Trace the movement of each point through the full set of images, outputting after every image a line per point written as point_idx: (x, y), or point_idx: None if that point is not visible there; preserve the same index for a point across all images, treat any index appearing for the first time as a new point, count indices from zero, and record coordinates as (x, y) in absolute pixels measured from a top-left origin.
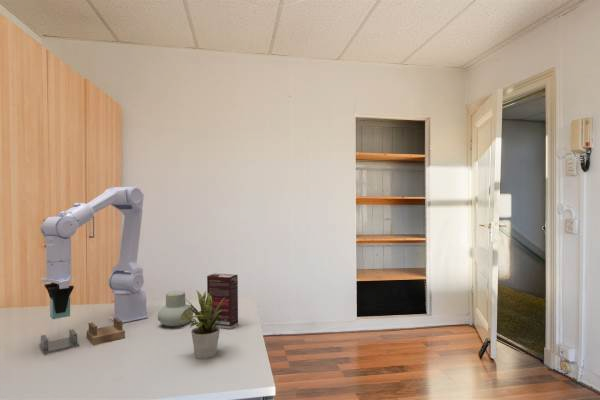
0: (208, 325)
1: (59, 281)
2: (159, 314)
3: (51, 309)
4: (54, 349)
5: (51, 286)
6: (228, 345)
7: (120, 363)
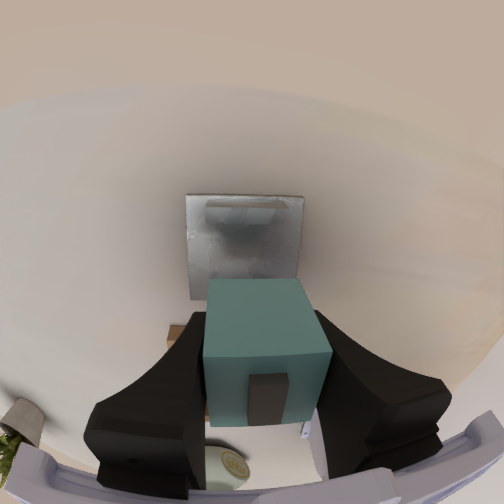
0: (7, 441)
1: (11, 493)
2: (208, 463)
3: (251, 306)
4: (189, 229)
5: (364, 430)
6: (55, 435)
7: (26, 325)
